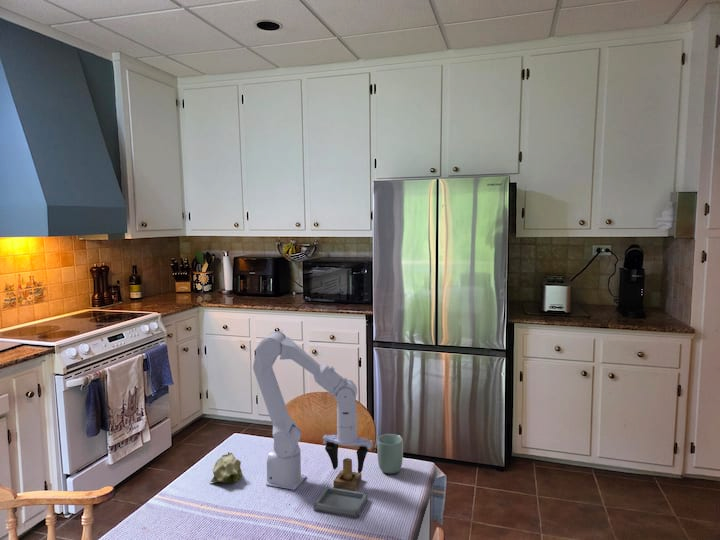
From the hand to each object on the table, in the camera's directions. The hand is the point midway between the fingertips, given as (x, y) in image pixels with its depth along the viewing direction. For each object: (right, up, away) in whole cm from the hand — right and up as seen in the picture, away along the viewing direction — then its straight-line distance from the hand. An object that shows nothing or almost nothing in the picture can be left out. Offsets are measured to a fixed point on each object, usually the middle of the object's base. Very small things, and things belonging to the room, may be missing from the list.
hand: (347, 469), depth 140 cm
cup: (+13, -4, +8) cm, 15 cm away
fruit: (-36, -5, +4) cm, 36 cm away
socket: (0, -4, 0) cm, 4 cm away
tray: (-2, -5, -11) cm, 12 cm away
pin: (0, -4, 0) cm, 4 cm away
